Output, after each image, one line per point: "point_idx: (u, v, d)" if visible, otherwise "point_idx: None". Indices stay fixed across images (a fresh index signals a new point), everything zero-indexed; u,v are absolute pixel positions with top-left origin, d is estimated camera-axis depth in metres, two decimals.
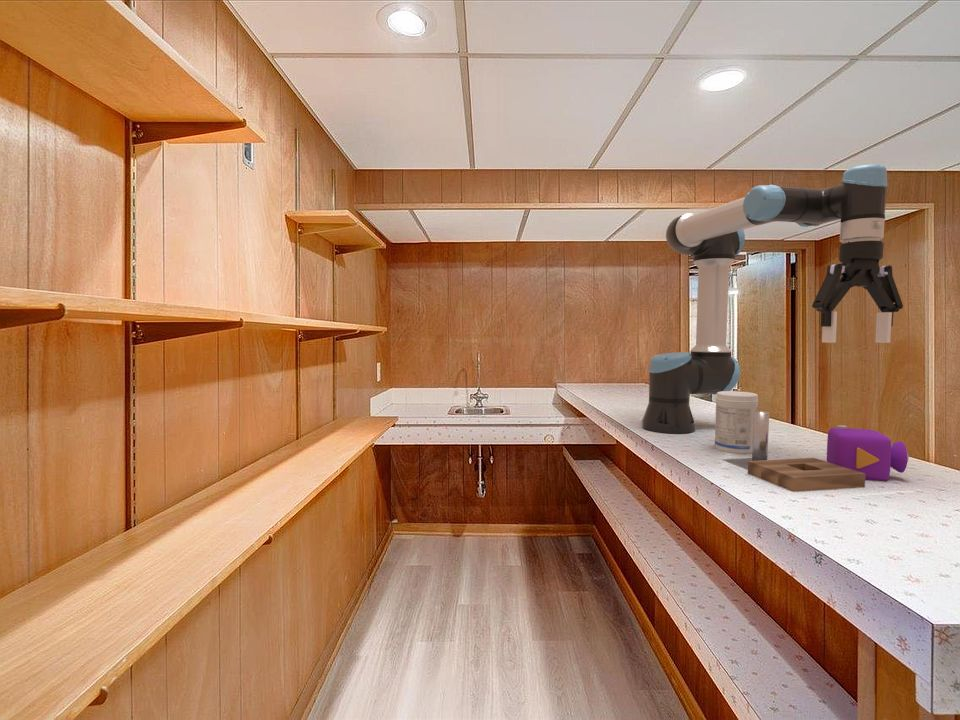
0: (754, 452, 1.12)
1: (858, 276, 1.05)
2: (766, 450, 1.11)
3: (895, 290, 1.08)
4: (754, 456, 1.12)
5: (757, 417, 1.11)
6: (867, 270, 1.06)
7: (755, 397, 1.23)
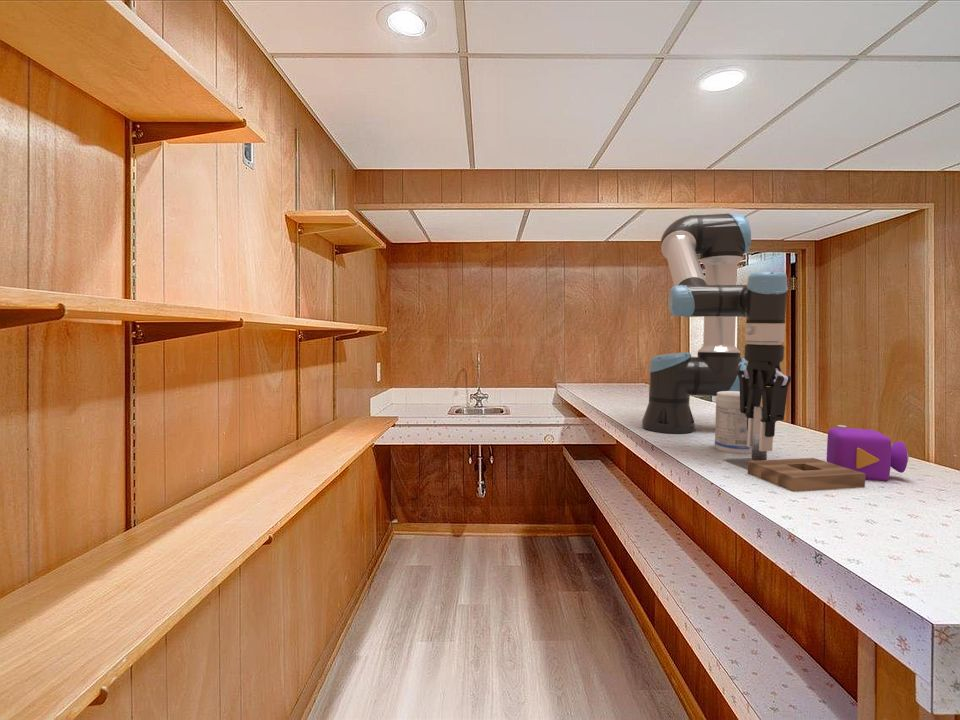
0: (754, 447, 1.12)
1: (751, 377, 1.12)
2: None
3: (774, 401, 1.07)
4: (754, 450, 1.12)
5: (757, 412, 1.11)
6: (761, 365, 1.10)
7: None
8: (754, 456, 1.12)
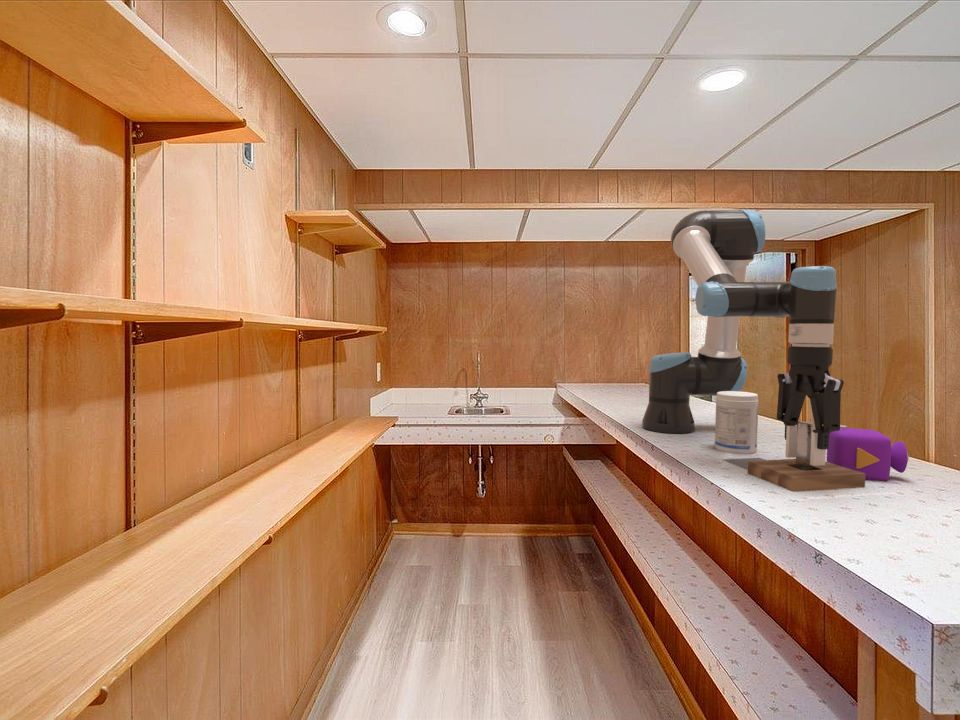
0: (798, 467, 1.01)
1: (794, 383, 1.02)
2: (812, 465, 1.00)
3: (827, 408, 0.95)
4: None
5: (802, 429, 1.00)
6: (806, 371, 1.00)
7: (755, 397, 1.23)
8: None
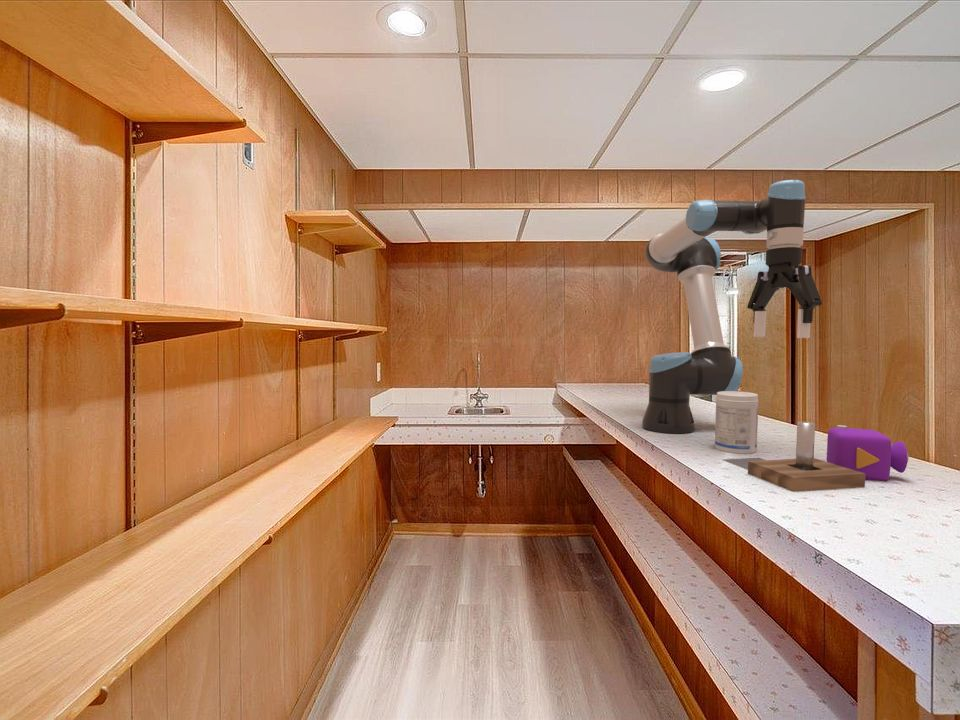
0: (798, 467, 1.01)
1: (769, 280, 1.23)
2: (812, 465, 1.00)
3: (805, 288, 1.13)
4: None
5: (802, 429, 1.00)
6: None
7: (755, 397, 1.23)
8: None
